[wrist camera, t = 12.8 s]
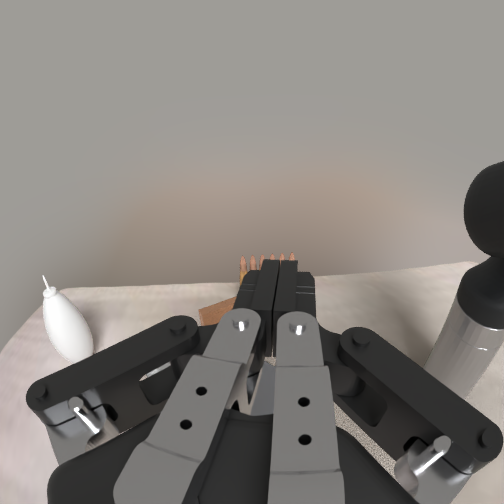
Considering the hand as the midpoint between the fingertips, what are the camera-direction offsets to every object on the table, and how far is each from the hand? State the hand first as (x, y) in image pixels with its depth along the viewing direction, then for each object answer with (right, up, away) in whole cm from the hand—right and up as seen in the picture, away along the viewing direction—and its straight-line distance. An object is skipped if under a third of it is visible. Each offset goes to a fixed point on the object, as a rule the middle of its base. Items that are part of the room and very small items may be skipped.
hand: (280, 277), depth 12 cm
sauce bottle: (-32, -19, +29) cm, 47 cm away
